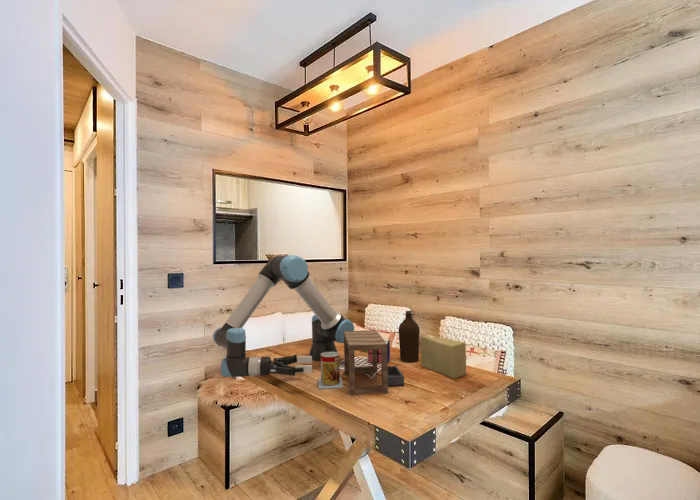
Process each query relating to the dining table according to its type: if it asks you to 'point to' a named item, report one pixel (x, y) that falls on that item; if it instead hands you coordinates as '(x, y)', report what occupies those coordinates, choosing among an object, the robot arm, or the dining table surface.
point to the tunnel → (365, 342)
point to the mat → (330, 386)
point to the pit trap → (394, 376)
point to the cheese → (443, 356)
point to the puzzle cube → (380, 353)
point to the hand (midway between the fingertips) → (312, 363)
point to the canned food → (330, 368)
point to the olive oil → (409, 339)
